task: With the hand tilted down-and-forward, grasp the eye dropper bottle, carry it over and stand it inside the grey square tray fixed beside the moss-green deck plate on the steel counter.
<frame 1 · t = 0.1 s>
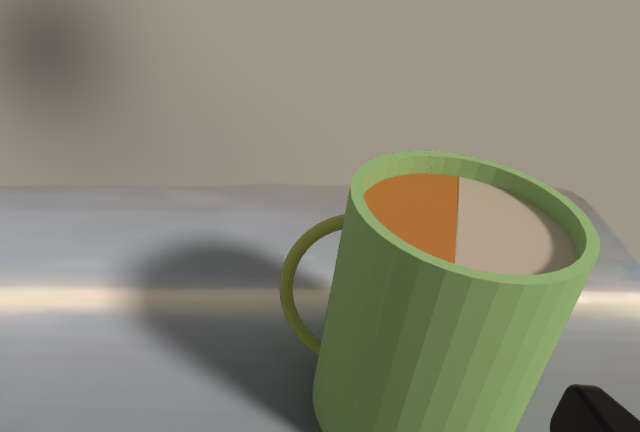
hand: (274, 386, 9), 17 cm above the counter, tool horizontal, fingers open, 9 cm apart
mug: (384, 397, 30), on the counter
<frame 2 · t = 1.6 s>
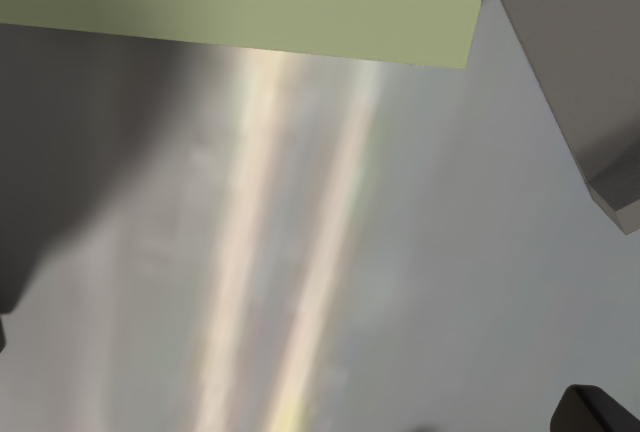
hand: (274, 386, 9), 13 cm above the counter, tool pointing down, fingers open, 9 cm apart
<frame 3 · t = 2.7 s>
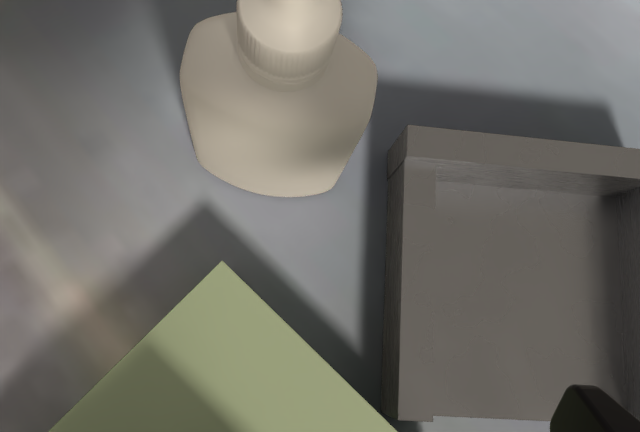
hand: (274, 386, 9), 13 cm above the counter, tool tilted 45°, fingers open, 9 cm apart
eye dropper bottle: (269, 157, 24), on the counter
grey square tray: (516, 292, 23), on the counter
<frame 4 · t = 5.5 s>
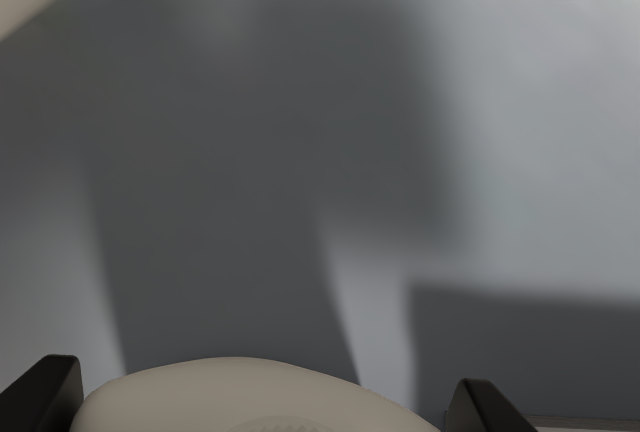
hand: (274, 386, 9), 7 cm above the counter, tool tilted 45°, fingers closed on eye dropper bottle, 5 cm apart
eye dropper bottle: (258, 428, 15), on the counter, touching gripper
when the fingers open (8 cm above the counter, at t = 9.8 s): eye dropper bottle stays where it is, resting on grey square tray.
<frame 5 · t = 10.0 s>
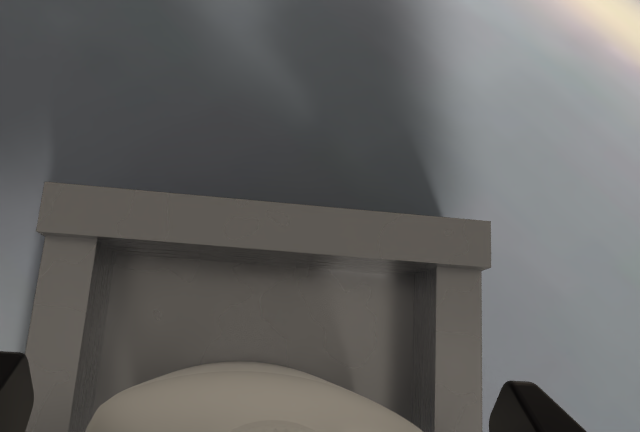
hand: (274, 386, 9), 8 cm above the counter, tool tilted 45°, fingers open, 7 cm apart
eye dropper bottle: (256, 427, 16), resting on grey square tray
grey square tray: (255, 420, 16), on the counter
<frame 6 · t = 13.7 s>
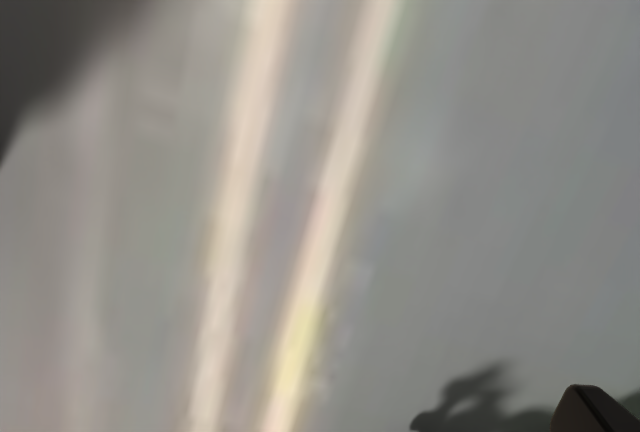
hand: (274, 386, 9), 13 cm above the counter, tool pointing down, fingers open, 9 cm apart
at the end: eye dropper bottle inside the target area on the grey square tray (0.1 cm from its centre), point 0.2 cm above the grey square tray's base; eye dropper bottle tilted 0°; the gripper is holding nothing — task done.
